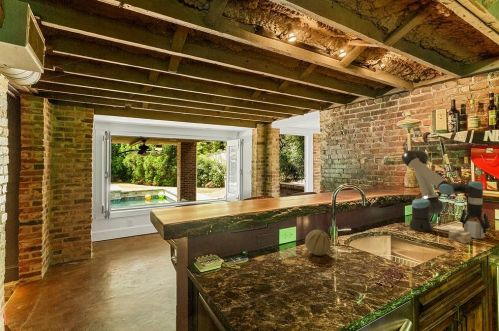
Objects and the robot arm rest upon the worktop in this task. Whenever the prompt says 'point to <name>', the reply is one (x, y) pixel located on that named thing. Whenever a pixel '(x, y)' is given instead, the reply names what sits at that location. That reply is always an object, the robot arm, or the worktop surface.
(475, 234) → the small box
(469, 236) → the pedestal block
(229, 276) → the worktop surface
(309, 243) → the cantaloupe
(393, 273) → the chocolate bar
